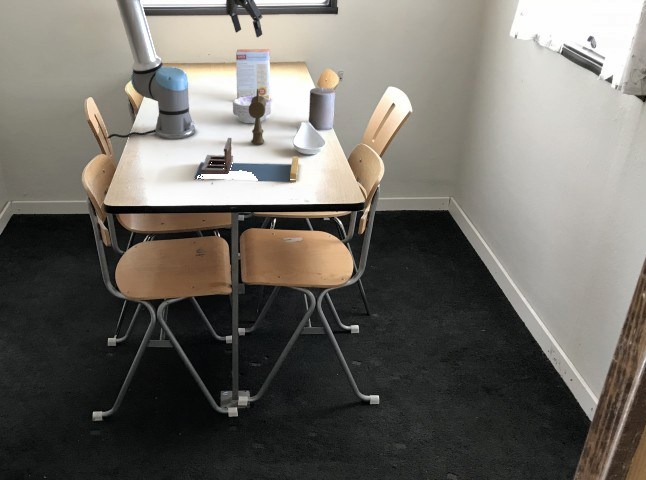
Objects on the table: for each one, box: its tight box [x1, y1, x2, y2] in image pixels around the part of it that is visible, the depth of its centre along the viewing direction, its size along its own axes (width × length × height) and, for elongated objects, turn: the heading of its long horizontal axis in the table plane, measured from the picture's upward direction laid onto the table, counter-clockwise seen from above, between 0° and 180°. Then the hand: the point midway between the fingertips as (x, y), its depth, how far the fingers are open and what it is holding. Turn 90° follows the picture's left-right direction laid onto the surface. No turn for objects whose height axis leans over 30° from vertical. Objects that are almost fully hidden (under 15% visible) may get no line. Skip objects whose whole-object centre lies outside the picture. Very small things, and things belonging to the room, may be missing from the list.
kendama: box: [249, 89, 266, 146], centre depth 258 cm, size 6×10×20 cm, turn 175°
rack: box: [201, 137, 234, 177], centre depth 238 cm, size 9×14×10 cm, turn 174°
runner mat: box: [193, 161, 299, 183], centre depth 240 cm, size 34×16×1 cm, turn 84°
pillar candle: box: [308, 86, 336, 131], centre depth 275 cm, size 10×10×15 cm
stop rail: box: [289, 156, 300, 183], centre depth 237 cm, size 2×16×3 cm, turn 174°
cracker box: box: [235, 48, 271, 100], centre depth 305 cm, size 14×6×21 cm, turn 84°
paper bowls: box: [232, 96, 272, 124], centre depth 285 cm, size 15×15×8 cm
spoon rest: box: [292, 121, 327, 156], centre depth 258 cm, size 24×12×7 cm, turn 5°
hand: (248, 33), depth 294 cm, fingers open, 13 cm apart
